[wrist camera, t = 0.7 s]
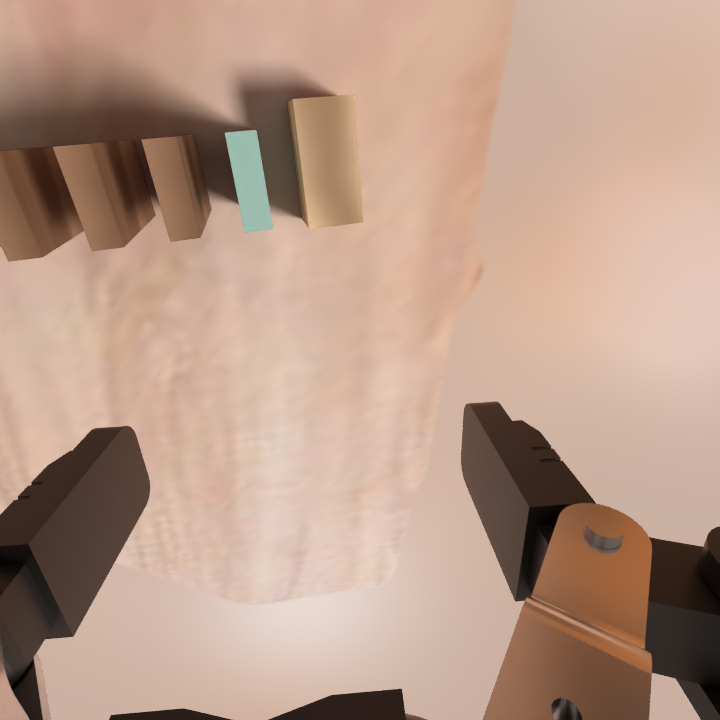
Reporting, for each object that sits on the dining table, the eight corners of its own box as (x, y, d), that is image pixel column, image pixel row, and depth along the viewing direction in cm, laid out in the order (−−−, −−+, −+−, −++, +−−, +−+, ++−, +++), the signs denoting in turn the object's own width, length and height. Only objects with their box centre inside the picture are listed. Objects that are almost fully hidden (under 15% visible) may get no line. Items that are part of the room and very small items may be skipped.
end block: (302, 219, 34) (309, 229, 31) (286, 102, 30) (292, 99, 27) (351, 213, 35) (363, 222, 32) (342, 98, 31) (354, 94, 28)
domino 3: (189, 211, 32) (170, 241, 24) (170, 136, 30) (141, 139, 21) (211, 209, 33) (200, 237, 24) (194, 134, 30) (175, 136, 22)
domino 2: (132, 218, 32) (91, 251, 23) (108, 141, 29) (52, 146, 21) (155, 215, 32) (123, 247, 23) (133, 139, 29) (88, 143, 21)
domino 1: (73, 224, 31) (8, 261, 22) (43, 147, 28) (-43, 154, 20) (97, 222, 31) (42, 257, 23) (69, 145, 29) (-4, 151, 20)
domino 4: (243, 205, 33) (244, 232, 24) (229, 131, 31) (224, 132, 22) (264, 203, 33) (273, 229, 25) (252, 129, 31) (256, 129, 22)
